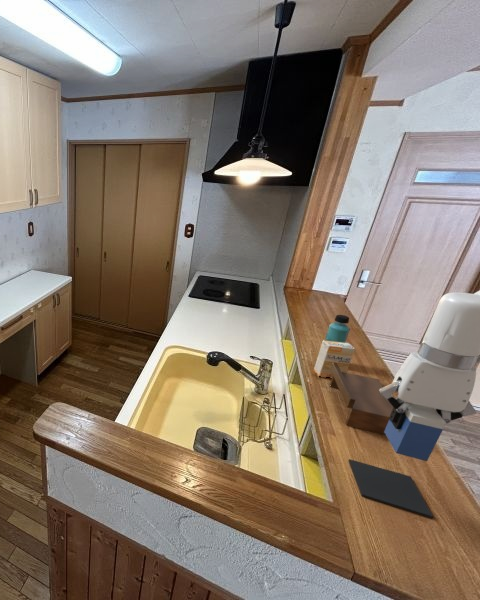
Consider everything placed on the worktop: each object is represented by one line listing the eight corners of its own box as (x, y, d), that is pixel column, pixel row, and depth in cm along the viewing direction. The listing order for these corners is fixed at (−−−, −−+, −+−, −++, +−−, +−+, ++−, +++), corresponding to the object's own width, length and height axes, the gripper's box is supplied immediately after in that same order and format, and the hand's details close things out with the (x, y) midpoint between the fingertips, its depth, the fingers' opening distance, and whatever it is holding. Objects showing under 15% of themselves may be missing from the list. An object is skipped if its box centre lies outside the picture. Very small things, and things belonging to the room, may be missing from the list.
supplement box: (318, 377, 117) (328, 345, 112) (313, 370, 121) (322, 339, 117) (344, 380, 115) (355, 348, 111) (338, 373, 120) (348, 342, 115)
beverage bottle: (337, 360, 128) (352, 314, 121) (340, 368, 123) (355, 320, 116) (317, 356, 131) (331, 311, 124) (319, 364, 126) (333, 317, 119)
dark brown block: (372, 394, 108) (381, 371, 105) (399, 438, 89) (411, 412, 86) (325, 384, 113) (332, 362, 110) (341, 424, 95) (350, 398, 92)
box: (412, 438, 73) (429, 402, 69) (427, 461, 67) (446, 423, 64) (383, 431, 75) (399, 396, 71) (396, 453, 69) (413, 415, 66)
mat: (409, 478, 77) (410, 476, 77) (432, 518, 68) (433, 516, 68) (348, 460, 82) (348, 458, 82) (361, 496, 73) (362, 494, 73)
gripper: (495, 356, 63) (456, 430, 69) (383, 338, 70) (357, 407, 76) (523, 376, 56) (478, 455, 63) (397, 354, 63) (367, 428, 70)
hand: (412, 428), depth 69 cm, fingers closed on box, 5 cm apart
